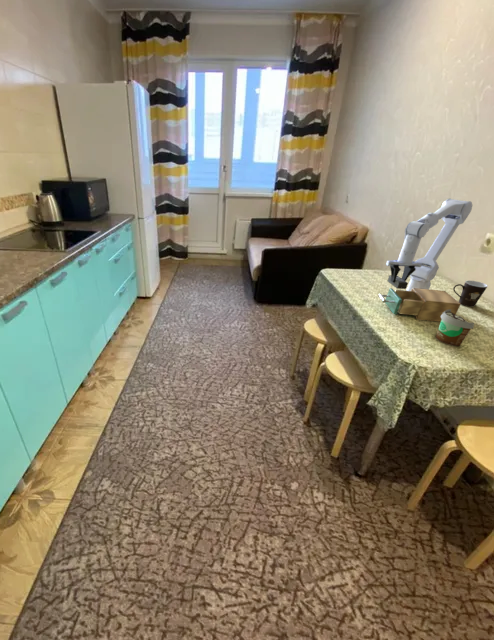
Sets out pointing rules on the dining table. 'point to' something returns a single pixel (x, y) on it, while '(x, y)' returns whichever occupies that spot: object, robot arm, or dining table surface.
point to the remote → (398, 282)
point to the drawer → (402, 301)
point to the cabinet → (435, 304)
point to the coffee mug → (471, 292)
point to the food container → (453, 328)
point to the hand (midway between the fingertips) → (397, 282)
